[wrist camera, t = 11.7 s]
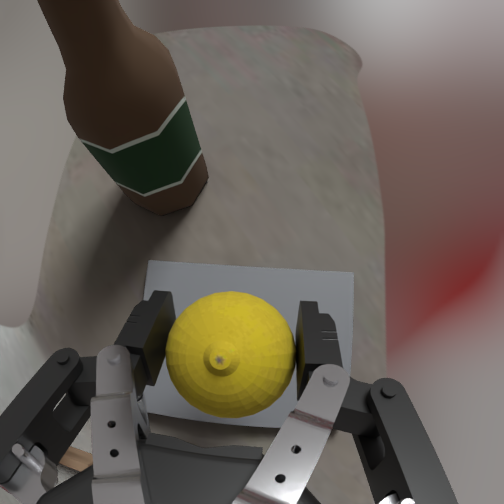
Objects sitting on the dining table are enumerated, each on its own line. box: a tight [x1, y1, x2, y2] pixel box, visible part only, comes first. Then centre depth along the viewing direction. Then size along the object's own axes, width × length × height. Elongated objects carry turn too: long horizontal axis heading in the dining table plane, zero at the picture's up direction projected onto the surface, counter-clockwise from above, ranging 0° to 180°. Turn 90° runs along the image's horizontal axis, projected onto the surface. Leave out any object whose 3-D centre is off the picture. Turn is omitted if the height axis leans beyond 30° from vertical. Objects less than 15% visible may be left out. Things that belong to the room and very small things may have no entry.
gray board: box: [143, 260, 354, 428], centre depth 23 cm, size 16×12×2 cm
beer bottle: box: [38, 0, 209, 216], centre depth 16 cm, size 8×8×24 cm
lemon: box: [165, 291, 296, 418], centre depth 13 cm, size 6×6×8 cm
